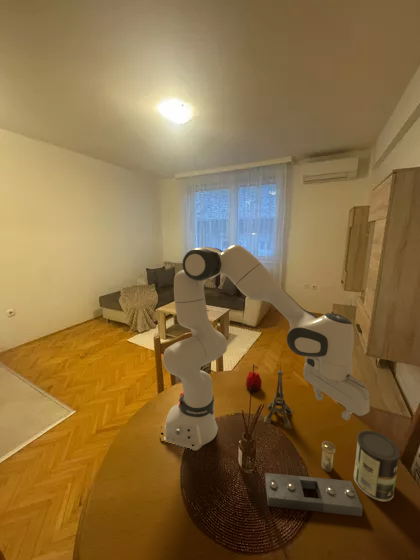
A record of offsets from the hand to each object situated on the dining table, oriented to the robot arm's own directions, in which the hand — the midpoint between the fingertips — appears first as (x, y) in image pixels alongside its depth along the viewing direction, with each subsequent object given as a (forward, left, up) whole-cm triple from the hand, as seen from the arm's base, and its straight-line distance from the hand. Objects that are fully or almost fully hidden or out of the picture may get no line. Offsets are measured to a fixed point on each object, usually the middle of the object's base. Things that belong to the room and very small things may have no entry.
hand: (331, 408), depth 74 cm
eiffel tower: (-12, +21, -22) cm, 33 cm away
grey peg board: (-8, -10, -22) cm, 25 cm away
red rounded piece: (-21, +38, -22) cm, 49 cm away
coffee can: (+12, -4, -22) cm, 25 cm away
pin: (0, 0, -22) cm, 22 cm away
